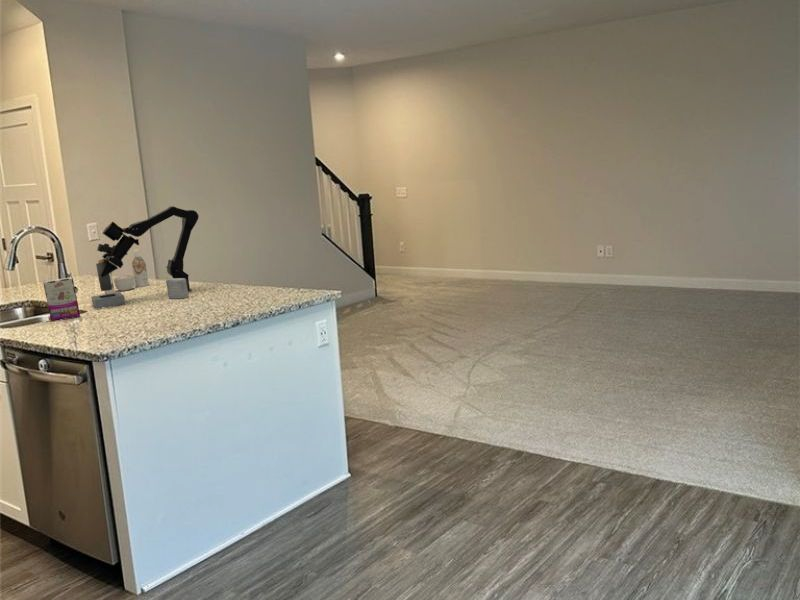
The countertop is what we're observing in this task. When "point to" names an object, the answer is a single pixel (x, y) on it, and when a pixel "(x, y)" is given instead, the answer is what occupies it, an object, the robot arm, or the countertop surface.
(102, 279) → the grey upright block
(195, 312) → the countertop surface
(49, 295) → the candy bar box
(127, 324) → the countertop surface
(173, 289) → the medicine box
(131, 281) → the cosmetic set
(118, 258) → the robot arm
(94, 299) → the housing
